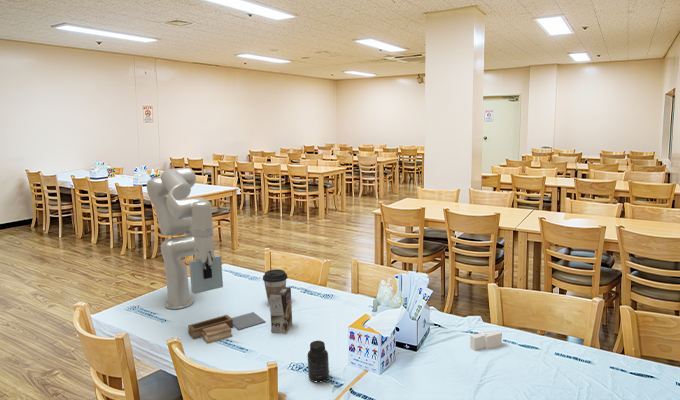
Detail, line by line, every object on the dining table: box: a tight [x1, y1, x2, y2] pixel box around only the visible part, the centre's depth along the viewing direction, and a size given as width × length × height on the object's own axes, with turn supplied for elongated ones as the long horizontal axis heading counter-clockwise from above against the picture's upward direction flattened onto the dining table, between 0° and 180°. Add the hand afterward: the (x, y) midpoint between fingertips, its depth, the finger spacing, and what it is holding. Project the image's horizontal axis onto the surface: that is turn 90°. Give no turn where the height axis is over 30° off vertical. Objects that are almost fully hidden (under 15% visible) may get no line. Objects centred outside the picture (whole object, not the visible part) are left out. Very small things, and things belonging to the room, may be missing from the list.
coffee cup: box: [262, 268, 288, 306], centre depth 215 cm, size 11×11×15 cm
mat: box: [230, 311, 267, 331], centre depth 198 cm, size 12×12×1 cm
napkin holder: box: [469, 329, 503, 351], centre depth 172 cm, size 15×11×6 cm
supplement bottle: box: [307, 340, 330, 383], centre depth 154 cm, size 7×7×12 cm
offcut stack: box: [201, 323, 233, 345], centre depth 185 cm, size 7×10×4 cm
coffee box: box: [269, 286, 293, 334], centre depth 190 cm, size 9×6×16 cm
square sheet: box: [188, 254, 224, 295], centre depth 187 cm, size 2×12×13 cm, turn 125°
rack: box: [187, 314, 234, 340], centre depth 190 cm, size 6×16×4 cm, turn 125°
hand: (206, 276), depth 187 cm, fingers closed on square sheet, 2 cm apart
